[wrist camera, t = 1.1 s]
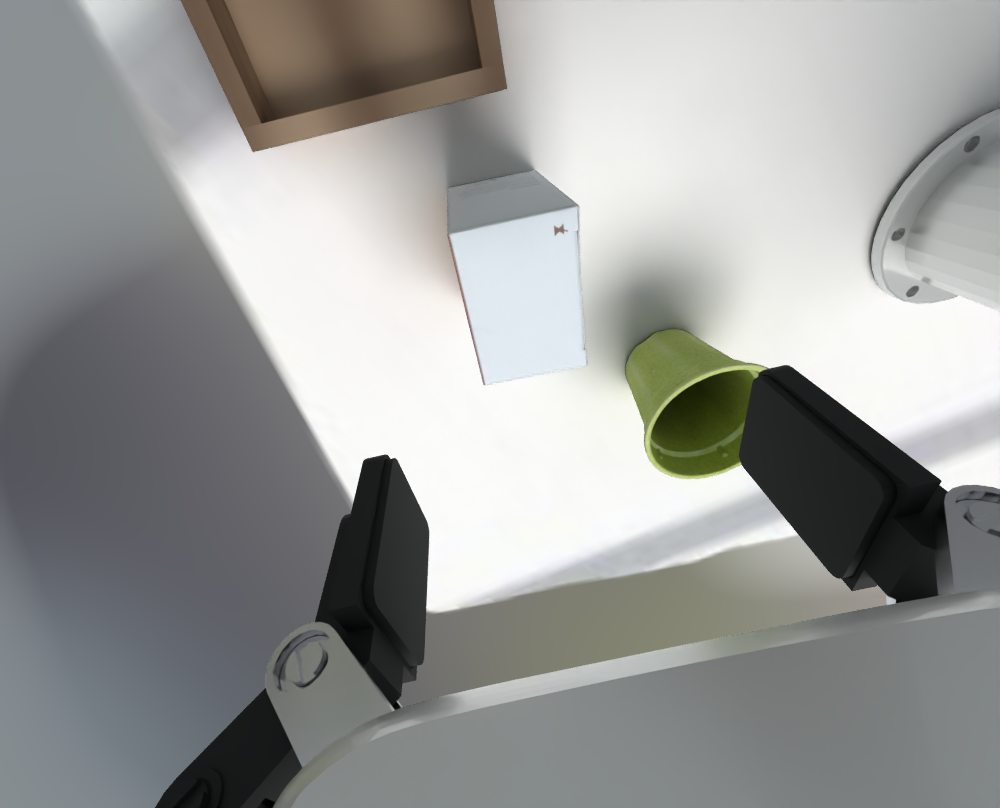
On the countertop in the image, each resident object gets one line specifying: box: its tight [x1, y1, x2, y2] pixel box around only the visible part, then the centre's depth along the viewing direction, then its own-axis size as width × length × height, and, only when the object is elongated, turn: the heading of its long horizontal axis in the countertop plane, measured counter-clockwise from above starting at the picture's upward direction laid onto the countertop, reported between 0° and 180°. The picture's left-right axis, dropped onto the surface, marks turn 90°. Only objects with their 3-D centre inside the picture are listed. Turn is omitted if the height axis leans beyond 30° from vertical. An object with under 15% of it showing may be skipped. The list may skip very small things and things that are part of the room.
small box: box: [447, 170, 588, 385], centre depth 23 cm, size 8×6×10 cm
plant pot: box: [626, 329, 769, 479], centre depth 31 cm, size 9×9×9 cm
